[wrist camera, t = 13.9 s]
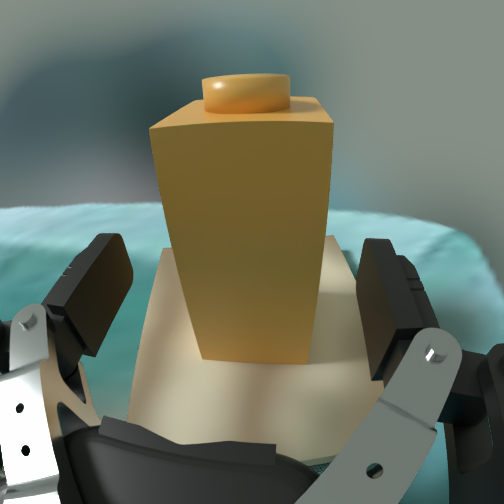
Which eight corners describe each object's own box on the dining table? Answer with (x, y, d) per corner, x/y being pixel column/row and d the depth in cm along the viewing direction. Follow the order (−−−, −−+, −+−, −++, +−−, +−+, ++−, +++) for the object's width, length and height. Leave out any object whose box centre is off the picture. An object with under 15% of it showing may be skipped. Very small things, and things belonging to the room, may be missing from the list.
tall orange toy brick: (306, 364, 15) (334, 83, 7) (202, 359, 16) (143, 92, 8) (304, 291, 20) (314, 72, 12) (219, 289, 20) (192, 76, 12)
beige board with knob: (133, 469, 12) (80, 431, 8) (166, 262, 25) (152, 204, 22) (405, 442, 12) (454, 395, 9) (331, 249, 26) (338, 191, 22)
